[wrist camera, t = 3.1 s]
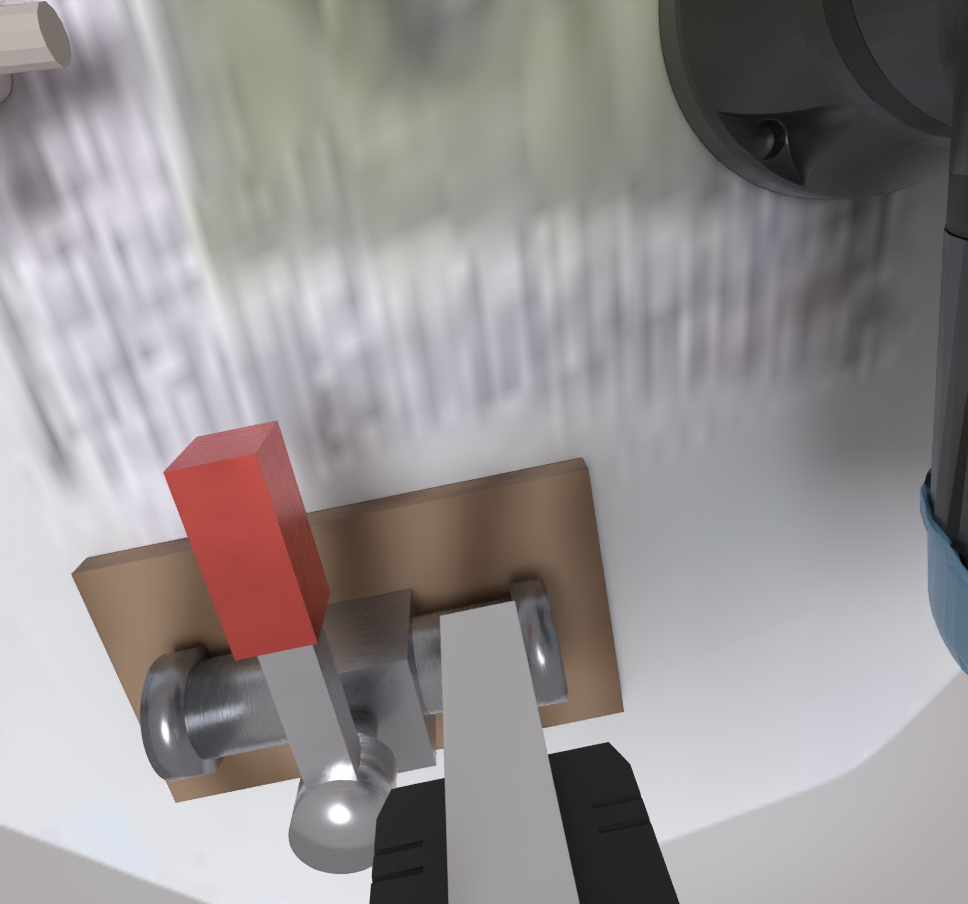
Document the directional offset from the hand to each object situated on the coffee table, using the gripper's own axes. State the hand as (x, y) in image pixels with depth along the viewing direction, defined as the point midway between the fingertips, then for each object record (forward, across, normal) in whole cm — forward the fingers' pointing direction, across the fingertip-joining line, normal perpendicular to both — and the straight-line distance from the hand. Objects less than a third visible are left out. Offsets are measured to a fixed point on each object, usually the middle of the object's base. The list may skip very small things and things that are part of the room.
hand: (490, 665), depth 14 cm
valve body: (+19, +7, +11) cm, 23 cm away
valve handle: (+10, +7, +5) cm, 13 cm away
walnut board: (+19, +7, +11) cm, 23 cm away
